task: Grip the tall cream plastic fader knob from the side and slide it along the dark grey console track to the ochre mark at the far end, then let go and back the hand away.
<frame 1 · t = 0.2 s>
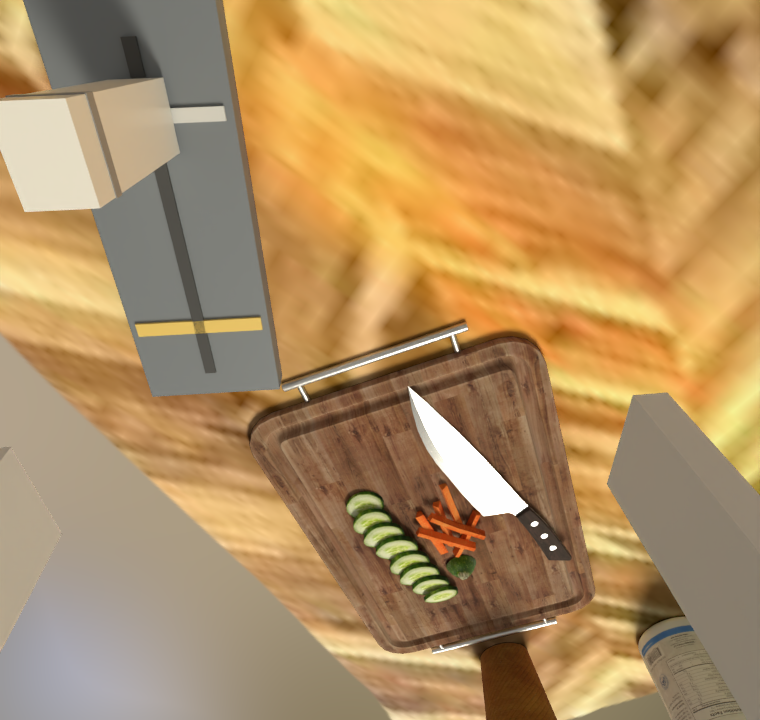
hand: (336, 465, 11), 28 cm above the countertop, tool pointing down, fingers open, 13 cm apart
chopping board: (443, 519, 55), on the countertop
supplement tub: (670, 632, 68), on the countertop
fader console: (185, 223, 36), on the countertop
disposable coffee cup: (503, 654, 68), on the countertop
fader knob: (105, 133, 25), point 9 cm above the countertop, slide at 0.0 cm
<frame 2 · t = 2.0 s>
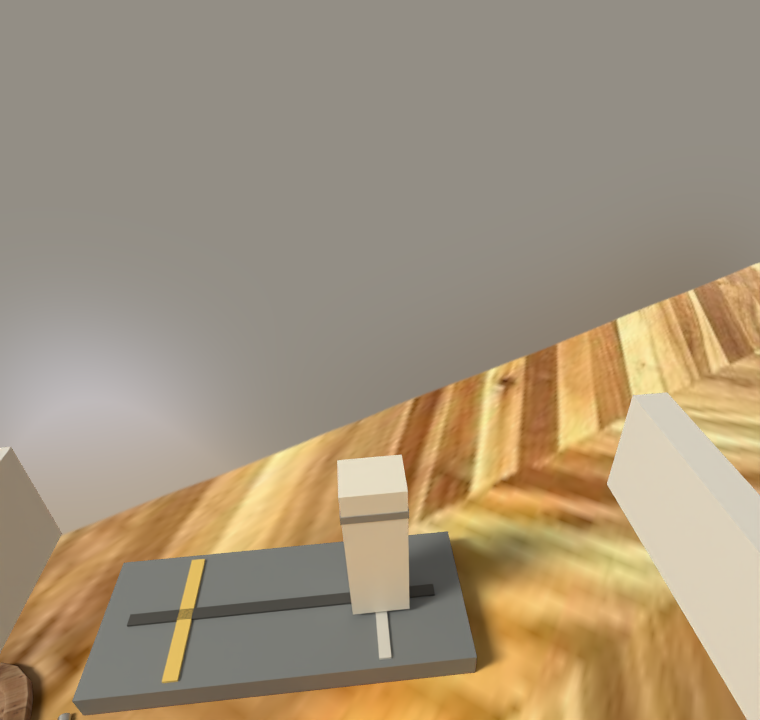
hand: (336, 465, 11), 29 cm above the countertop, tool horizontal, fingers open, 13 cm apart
fader console: (287, 620, 39), on the countertop
fader knob: (375, 539, 34), point 9 cm above the countertop, slide at 0.0 cm
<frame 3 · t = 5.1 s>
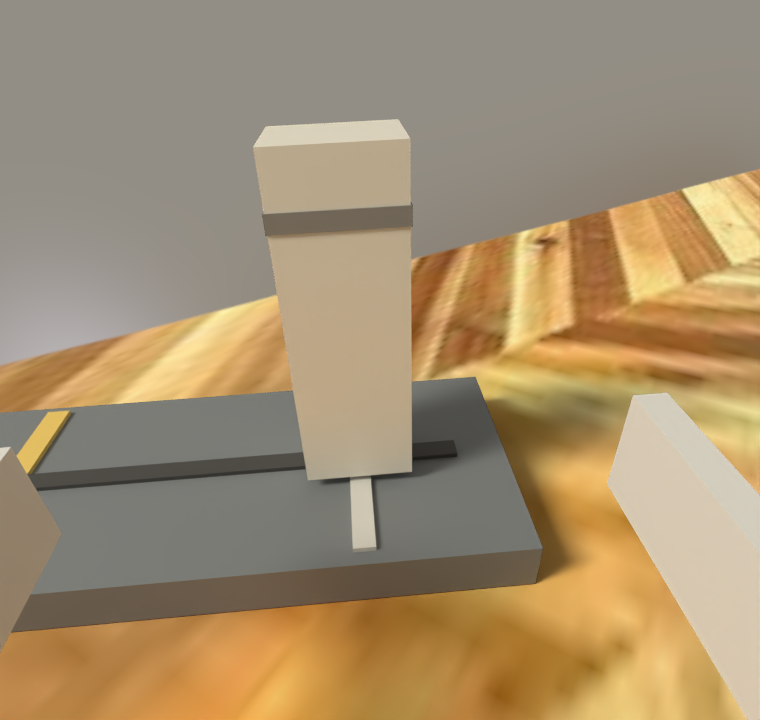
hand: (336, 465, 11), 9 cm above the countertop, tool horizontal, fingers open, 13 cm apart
fader console: (199, 505, 22), on the countertop
fader knob: (347, 320, 18), point 9 cm above the countertop, slide at 0.0 cm
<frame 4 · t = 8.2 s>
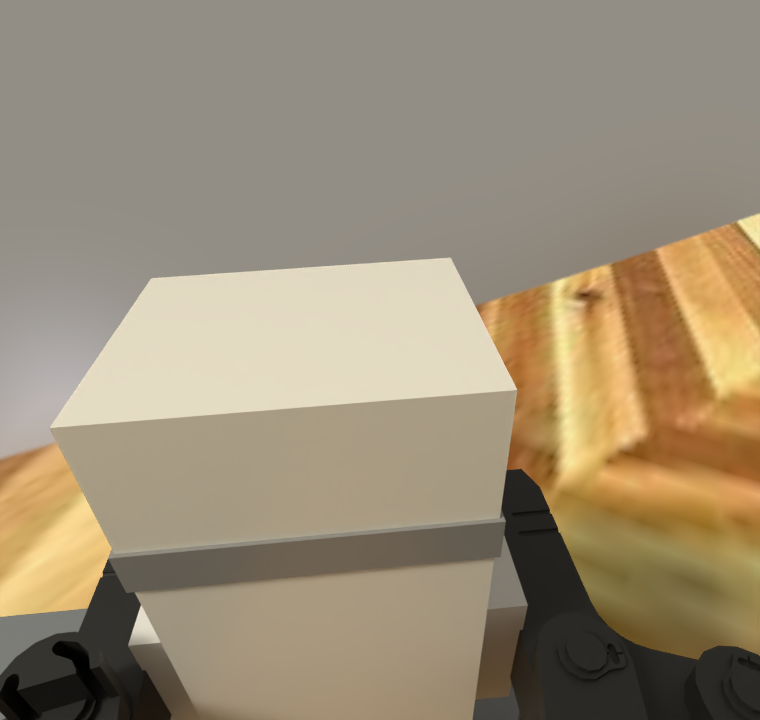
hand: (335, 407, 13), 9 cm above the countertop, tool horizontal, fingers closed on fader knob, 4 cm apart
fader knob: (341, 622, 9), point 9 cm above the countertop, slide at 0.0 cm, touching gripper
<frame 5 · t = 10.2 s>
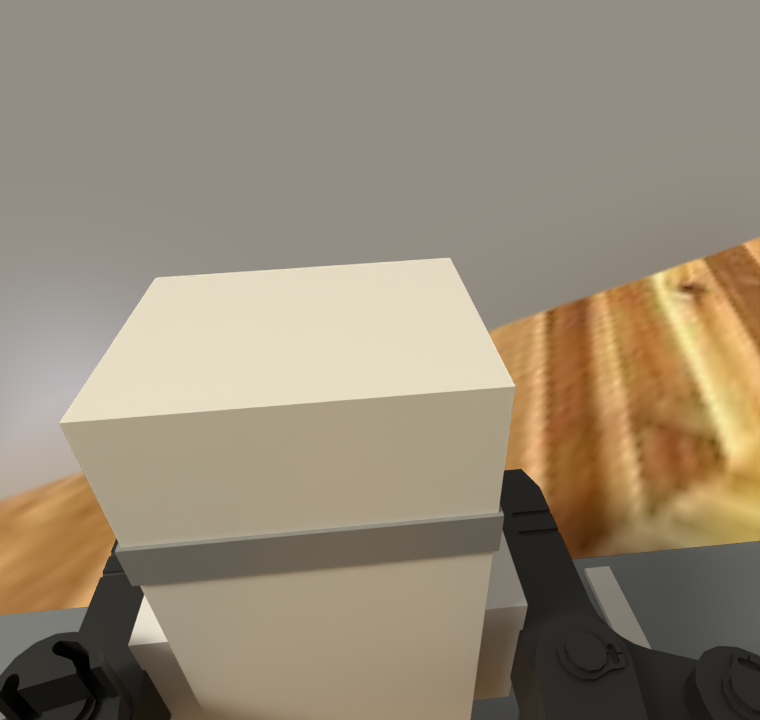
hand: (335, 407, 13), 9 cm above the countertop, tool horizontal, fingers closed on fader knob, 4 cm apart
fader knob: (341, 618, 9), point 8 cm above the countertop, slide at 7.9 cm, touching gripper
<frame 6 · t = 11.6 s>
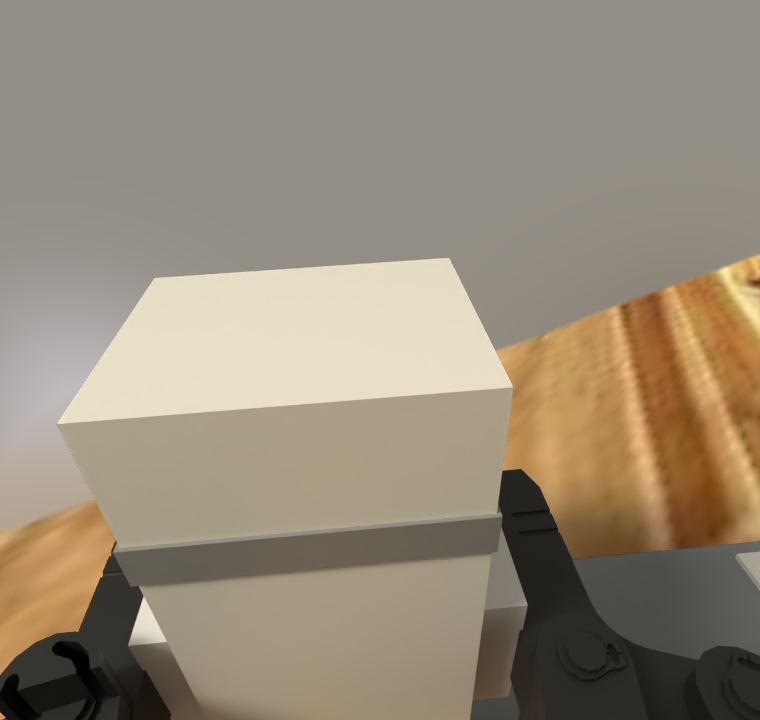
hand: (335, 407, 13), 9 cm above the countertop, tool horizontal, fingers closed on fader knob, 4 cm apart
fader knob: (341, 618, 9), point 9 cm above the countertop, slide at 13.0 cm, touching gripper
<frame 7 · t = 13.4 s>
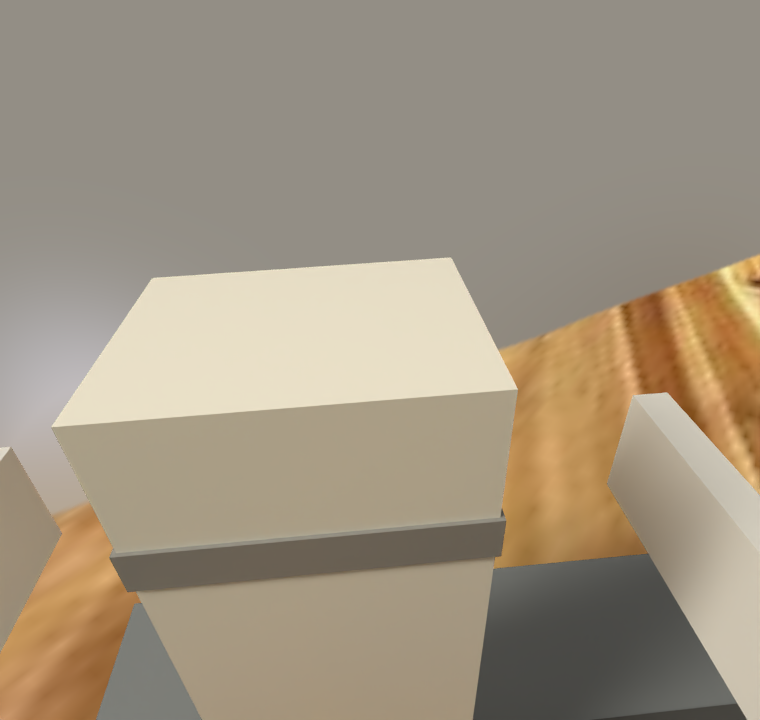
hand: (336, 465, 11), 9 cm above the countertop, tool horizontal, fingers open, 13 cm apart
fader knob: (341, 621, 9), point 8 cm above the countertop, slide at 13.0 cm
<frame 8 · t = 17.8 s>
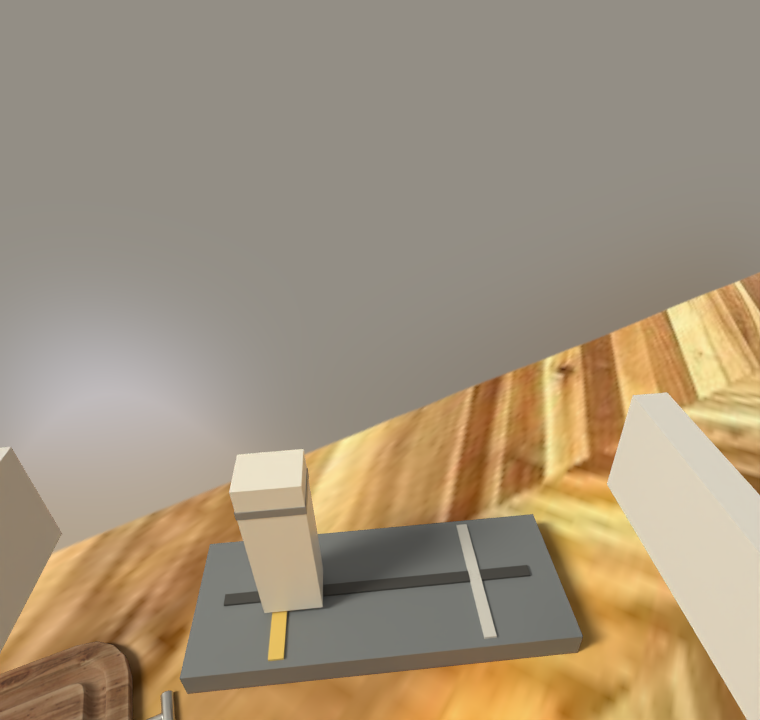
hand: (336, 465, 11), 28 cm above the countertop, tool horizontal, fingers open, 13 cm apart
fader console: (379, 601, 38), on the countertop
fader knob: (282, 535, 33), point 9 cm above the countertop, slide at 13.0 cm
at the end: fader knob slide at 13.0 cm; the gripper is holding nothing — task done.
